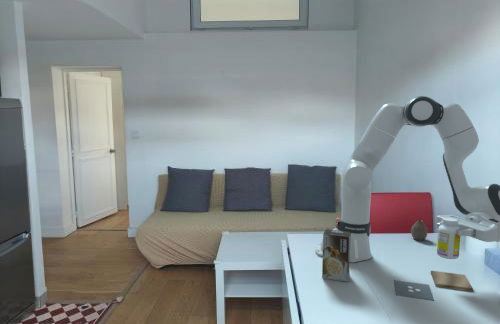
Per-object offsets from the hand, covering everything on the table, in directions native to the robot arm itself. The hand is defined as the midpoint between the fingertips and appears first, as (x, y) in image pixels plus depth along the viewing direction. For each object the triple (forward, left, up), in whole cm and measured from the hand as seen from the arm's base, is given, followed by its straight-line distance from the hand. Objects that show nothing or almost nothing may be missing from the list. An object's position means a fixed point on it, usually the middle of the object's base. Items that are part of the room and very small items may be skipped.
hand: (447, 229), depth 123 cm
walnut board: (+3, +2, -19) cm, 20 cm away
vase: (-2, +47, -19) cm, 51 cm away
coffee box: (-35, -7, -19) cm, 41 cm away
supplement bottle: (+1, 0, -10) cm, 10 cm away
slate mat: (-10, -9, -19) cm, 23 cm away
